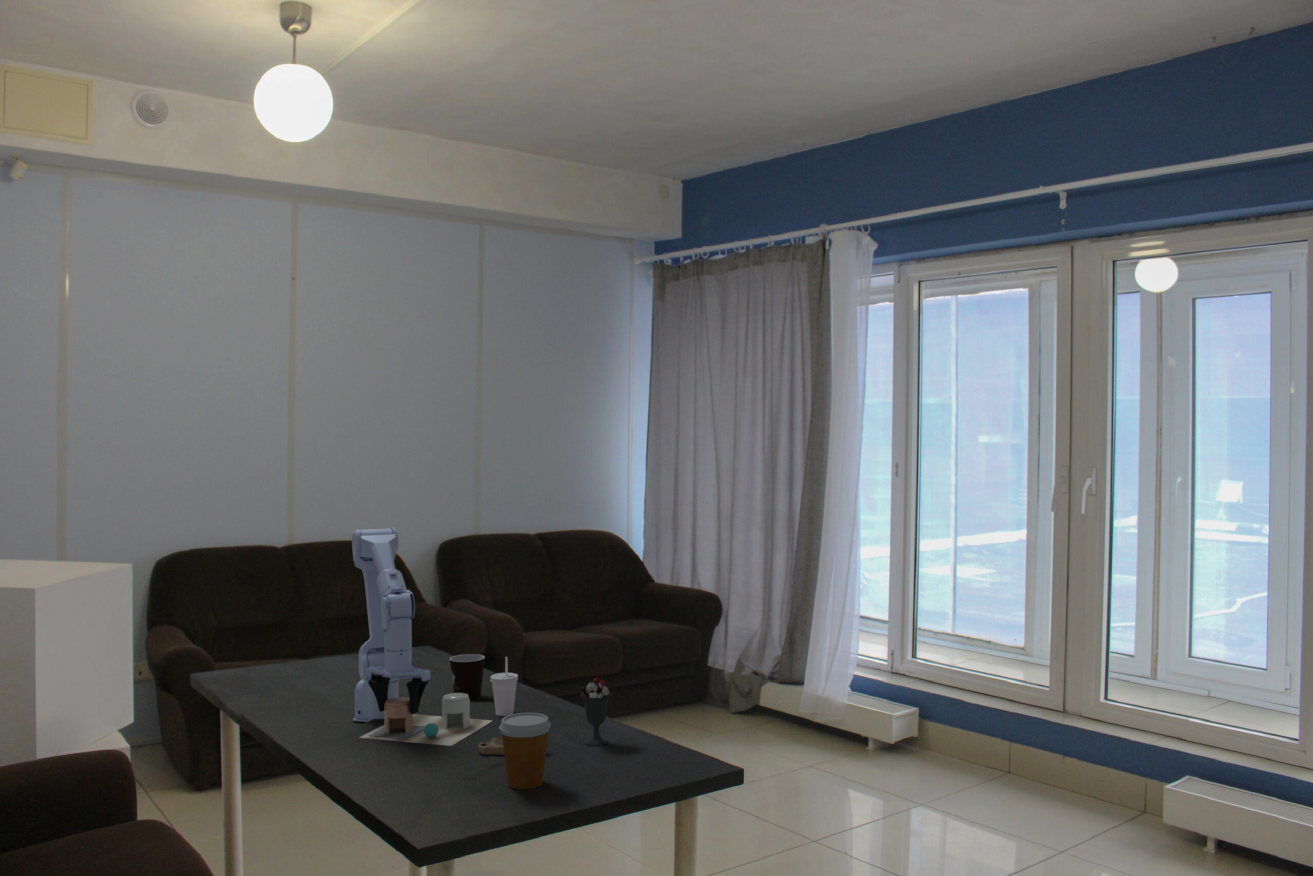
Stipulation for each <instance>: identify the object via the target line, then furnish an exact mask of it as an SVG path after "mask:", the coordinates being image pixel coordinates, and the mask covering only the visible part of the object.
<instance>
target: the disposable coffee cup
mask: <svg viewBox="0 0 1313 876" xmlns="http://www.w3.org/2000/svg"><path fill="white" fill-rule="evenodd" d="M551 727H552V725H551V722H550V721H549V717H548V716H547V715H546V714H544V713H537V712H520V713H519V712H518V713H513V714H512V715H508V716H503V718H502V719H501V722H500V725H499V727H498V728H499V731H500V733H501V737H502V738H503V746H504V753H505V755H504V759H505V760H504V761H505V767H506V775H507V782H508V783H507V784H508V786H509V787H510V788H513V789H514V790H515V789H516V790H530V789H531V790H532V789H534V788H535V789H536V788H538V787H541V785H543V784H544V783H543V782H544V781H543V780H544V774H545V773H544V772H545V763H546V755H547V746H548V740H549V739H548V737H549V732H550V728H551Z"/></svg>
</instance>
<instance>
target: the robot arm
mask: <svg viewBox="0 0 1313 876" xmlns="http://www.w3.org/2000/svg"><path fill="white" fill-rule="evenodd" d="M351 549H352V561H353V563H354V567H355V568H357V569H359V570H361V571H362V575H363V579H364V580H363V581H364V590H365V599H366V609H367V611H366V612H367V621H368V631H369V632H368V633H369V638H368V640H366V641H365V642H364V643H363V644H362V645H361V646H360V647H359V650H358V673H359V677H360V680H359V681H358V683H356V686H355V689H354V718H352V721H353V722H361V723H362V722H363V723H368V722H370V721H372V720H384V704H385V701H386V700H388V699H391V698H397V697H400V696H399V695H400V693H399V691H400V689H399V688H400V687H399V681H400V680H401V679H402V680H403V679H404V680H411V681H408V682H406V687H407V692H408V698H410V714H417V713H418V712H419V709H420V703H421V700H422V696H423V694H424V691H425V689H426V687H427V685H428V684H429V680H430V679H431V670H430V669H423V668H418V667H413V665H412V664H413V661H412V660H413V658H412V657H413V654H412V653H413V650H412V649H413V646H412V645H413V641H412V639H413V636H412V634H413V633H412V631H413V629H412V624H413V623H412V622H413V621H412V619H414V618H415V615H416V602H415V596H414V593H413V592H412V591H411V590H410V589H407V587H406V582H405V580H404V577H403V574H402V572H401V571H400V570H399V569H396V565H395V559H396V555H397V552H398V550H399V534H398V531H397V529H395V527H390V528H389V527H387V528H371V529H359V528H357V529H355V530H354V531H353V532H352V536H351Z"/></svg>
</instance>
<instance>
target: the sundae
mask: <svg viewBox="0 0 1313 876" xmlns="http://www.w3.org/2000/svg"><path fill="white" fill-rule="evenodd" d="M604 672H606V670H605V669H602V670H601V672H600V674H599V675H598V676H597V677H595V678H593V680H592V681H589V683H588V684H587V685H586V688H584V686H582V687H581V691H582V692H581V693H580V694H579V698H580V699H582V700H583V704H584V712H585V718H586V721H587V722H588V723H589V724H590V725H591V726H592V727H593V728H592V729H593V734H592V736H591V738H589V739H588V738H587V739H586V740H584V744H585V745H587V746H590V747H600V746H604V745H607V744H608V743H609V740H608V739H606V738H603V737H601V735H600V726H601V725H603V723H604V722H605V721H606V718H607V711H608V704H609V698H610V697H611V696H612V693H610V691H609V688H608V687H607V686H606V681H605V680H604V678H603V677H604V676H603V674H604ZM599 677H601V680H600V679H599Z"/></svg>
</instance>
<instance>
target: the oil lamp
mask: <svg viewBox="0 0 1313 876" xmlns="http://www.w3.org/2000/svg"><path fill="white" fill-rule="evenodd" d="M478 750H479V752H480V754H482V755H486V756H487V755H488V756H489V755H493V756H494V755H496V756H498V755H499V756H505V753H504V746H503V738H502V736H499V737H493V738H491V739H490V740H489V741H487V742H486V741H485V742H483V741H481V742H480V743H478Z"/></svg>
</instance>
